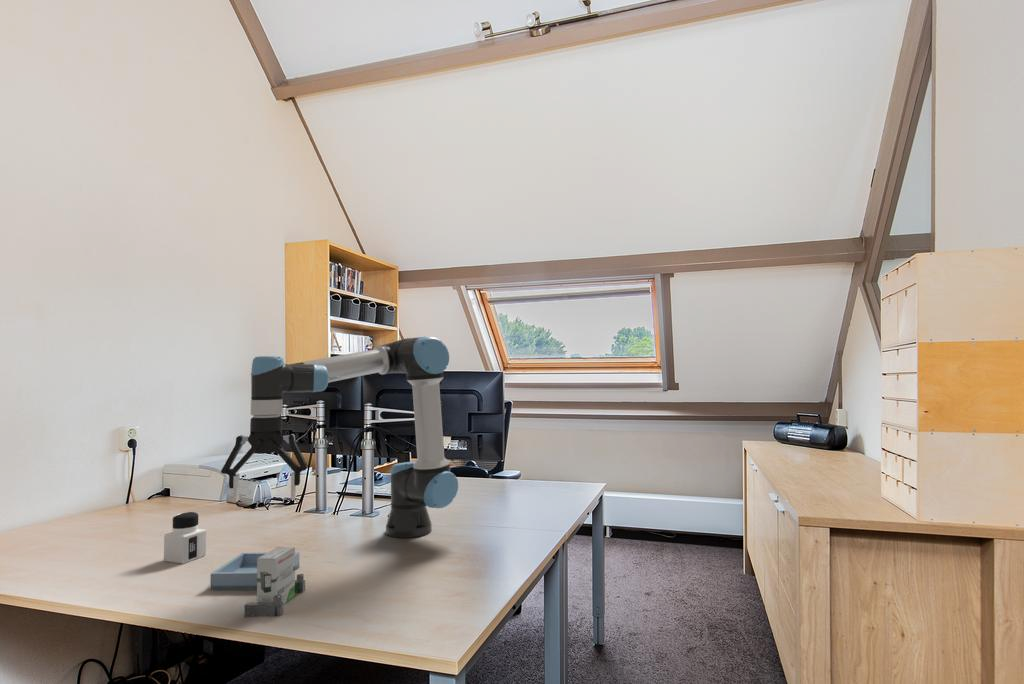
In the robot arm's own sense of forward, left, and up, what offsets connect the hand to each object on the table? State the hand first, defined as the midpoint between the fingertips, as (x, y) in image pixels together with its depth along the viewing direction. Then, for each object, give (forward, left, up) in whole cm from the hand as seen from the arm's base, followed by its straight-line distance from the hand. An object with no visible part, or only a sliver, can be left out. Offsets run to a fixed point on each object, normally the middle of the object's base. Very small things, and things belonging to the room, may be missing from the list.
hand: (264, 500), depth 143 cm
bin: (+4, -5, -21) cm, 22 cm away
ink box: (-8, +11, -22) cm, 25 cm away
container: (+33, -21, -22) cm, 45 cm away
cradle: (-8, +11, -21) cm, 25 cm away
